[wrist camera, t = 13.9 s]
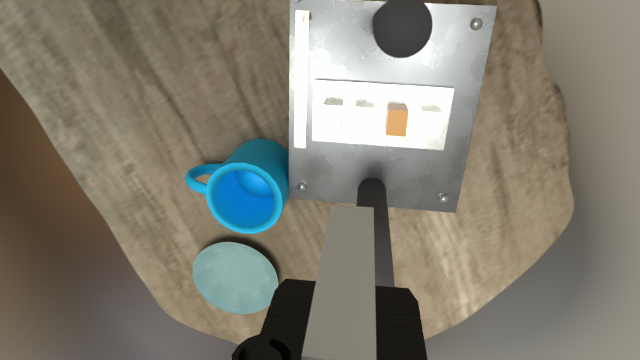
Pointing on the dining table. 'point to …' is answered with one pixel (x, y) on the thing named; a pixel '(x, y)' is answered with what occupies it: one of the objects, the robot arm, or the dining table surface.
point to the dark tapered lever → (402, 27)
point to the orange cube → (396, 120)
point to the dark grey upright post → (378, 228)
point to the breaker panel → (382, 103)
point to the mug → (246, 186)
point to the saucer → (235, 277)
